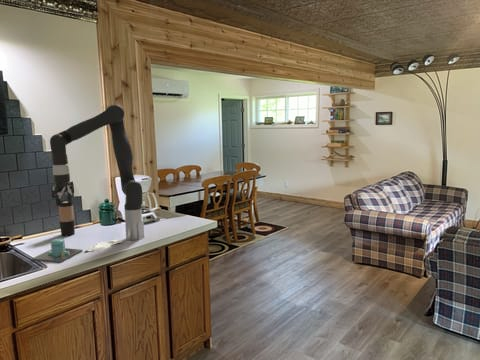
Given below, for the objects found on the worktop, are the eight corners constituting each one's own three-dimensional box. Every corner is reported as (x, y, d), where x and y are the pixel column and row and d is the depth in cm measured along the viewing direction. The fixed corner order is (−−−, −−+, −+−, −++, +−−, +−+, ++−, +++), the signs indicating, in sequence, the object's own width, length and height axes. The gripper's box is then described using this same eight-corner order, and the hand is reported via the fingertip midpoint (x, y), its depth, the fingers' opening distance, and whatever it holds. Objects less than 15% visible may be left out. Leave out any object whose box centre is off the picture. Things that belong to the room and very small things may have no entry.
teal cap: (71, 251, 181) (70, 238, 180) (66, 256, 175) (65, 242, 174) (51, 252, 181) (50, 238, 180) (45, 256, 175) (44, 242, 174)
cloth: (122, 238, 207) (122, 234, 207) (133, 244, 198) (133, 240, 197) (75, 249, 190) (75, 245, 189) (85, 255, 180) (85, 251, 179)
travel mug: (61, 237, 208) (58, 203, 205) (60, 233, 215) (58, 200, 212) (75, 235, 212) (73, 202, 208) (74, 231, 218) (72, 199, 215)
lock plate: (82, 251, 184) (81, 241, 183) (60, 263, 169) (59, 251, 168) (55, 249, 188) (54, 239, 187) (31, 260, 172) (30, 249, 171)
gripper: (58, 175, 178) (61, 207, 180) (76, 171, 191) (79, 201, 194) (45, 175, 179) (48, 206, 182) (64, 171, 193) (67, 200, 195)
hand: (64, 203), depth 188 cm, fingers open, 8 cm apart
